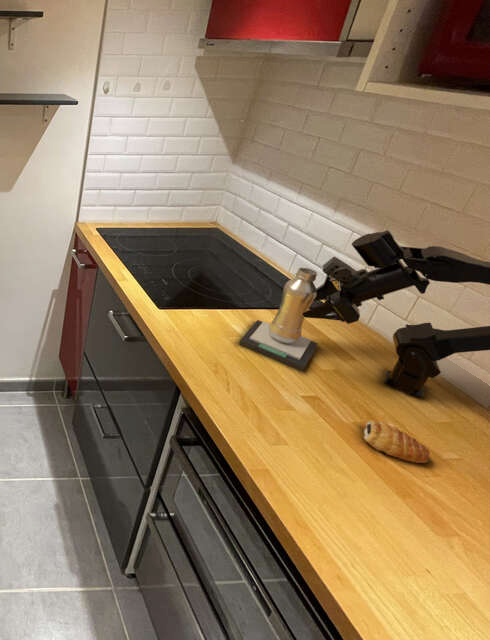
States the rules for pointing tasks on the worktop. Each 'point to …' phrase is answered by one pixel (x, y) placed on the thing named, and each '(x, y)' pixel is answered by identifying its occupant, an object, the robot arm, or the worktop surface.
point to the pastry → (395, 442)
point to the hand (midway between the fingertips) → (303, 307)
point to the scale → (278, 346)
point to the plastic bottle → (294, 306)
